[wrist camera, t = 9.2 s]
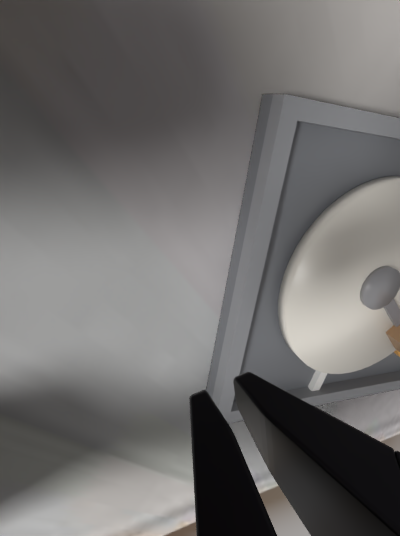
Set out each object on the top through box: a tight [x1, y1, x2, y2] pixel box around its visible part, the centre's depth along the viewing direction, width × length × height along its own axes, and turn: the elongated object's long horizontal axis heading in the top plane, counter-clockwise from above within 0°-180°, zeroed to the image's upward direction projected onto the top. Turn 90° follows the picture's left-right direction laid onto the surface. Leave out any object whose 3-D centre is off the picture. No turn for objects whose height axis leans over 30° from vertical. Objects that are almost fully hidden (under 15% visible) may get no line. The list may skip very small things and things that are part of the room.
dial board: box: [206, 94, 400, 423], centre depth 25 cm, size 20×20×2 cm
